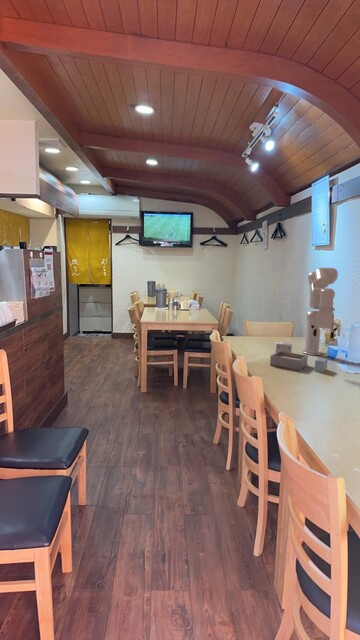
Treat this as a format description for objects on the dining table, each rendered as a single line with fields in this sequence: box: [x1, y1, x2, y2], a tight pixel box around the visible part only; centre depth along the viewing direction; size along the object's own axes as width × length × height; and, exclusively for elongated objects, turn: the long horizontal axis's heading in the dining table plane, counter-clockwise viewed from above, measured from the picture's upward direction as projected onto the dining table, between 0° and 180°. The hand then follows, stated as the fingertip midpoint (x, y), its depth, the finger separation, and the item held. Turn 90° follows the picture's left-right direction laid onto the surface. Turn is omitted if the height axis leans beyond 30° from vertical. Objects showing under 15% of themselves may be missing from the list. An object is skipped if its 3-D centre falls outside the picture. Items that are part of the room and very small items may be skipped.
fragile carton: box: [313, 357, 329, 374], centre depth 231 cm, size 9×5×7 cm, turn 145°
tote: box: [269, 351, 309, 372], centre depth 240 cm, size 17×19×6 cm
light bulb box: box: [274, 341, 293, 354], centre depth 258 cm, size 11×7×11 cm, turn 84°
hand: (323, 337), depth 228 cm, fingers open, 9 cm apart
